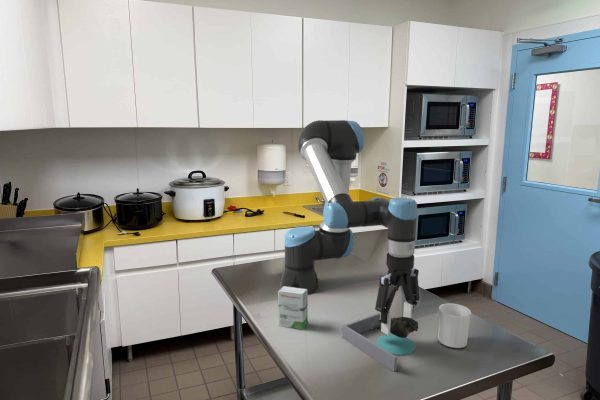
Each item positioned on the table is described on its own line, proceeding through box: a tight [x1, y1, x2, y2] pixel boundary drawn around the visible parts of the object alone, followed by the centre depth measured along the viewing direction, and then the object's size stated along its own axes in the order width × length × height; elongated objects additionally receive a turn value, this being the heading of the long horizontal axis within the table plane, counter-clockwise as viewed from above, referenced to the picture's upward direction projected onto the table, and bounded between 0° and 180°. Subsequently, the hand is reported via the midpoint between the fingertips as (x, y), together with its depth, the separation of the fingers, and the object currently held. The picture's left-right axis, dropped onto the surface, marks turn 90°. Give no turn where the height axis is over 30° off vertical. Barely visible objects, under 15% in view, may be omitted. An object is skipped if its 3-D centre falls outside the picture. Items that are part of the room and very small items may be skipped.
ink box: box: [277, 286, 309, 330], centre depth 132 cm, size 9×5×12 cm, turn 71°
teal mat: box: [376, 333, 416, 356], centre depth 122 cm, size 11×11×1 cm
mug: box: [437, 302, 472, 350], centre depth 123 cm, size 11×9×10 cm
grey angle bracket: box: [341, 312, 398, 372], centre depth 121 cm, size 21×15×4 cm
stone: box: [371, 316, 419, 338], centre depth 121 cm, size 7×13×5 cm, turn 68°
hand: (396, 328), depth 121 cm, fingers closed on stone, 8 cm apart
